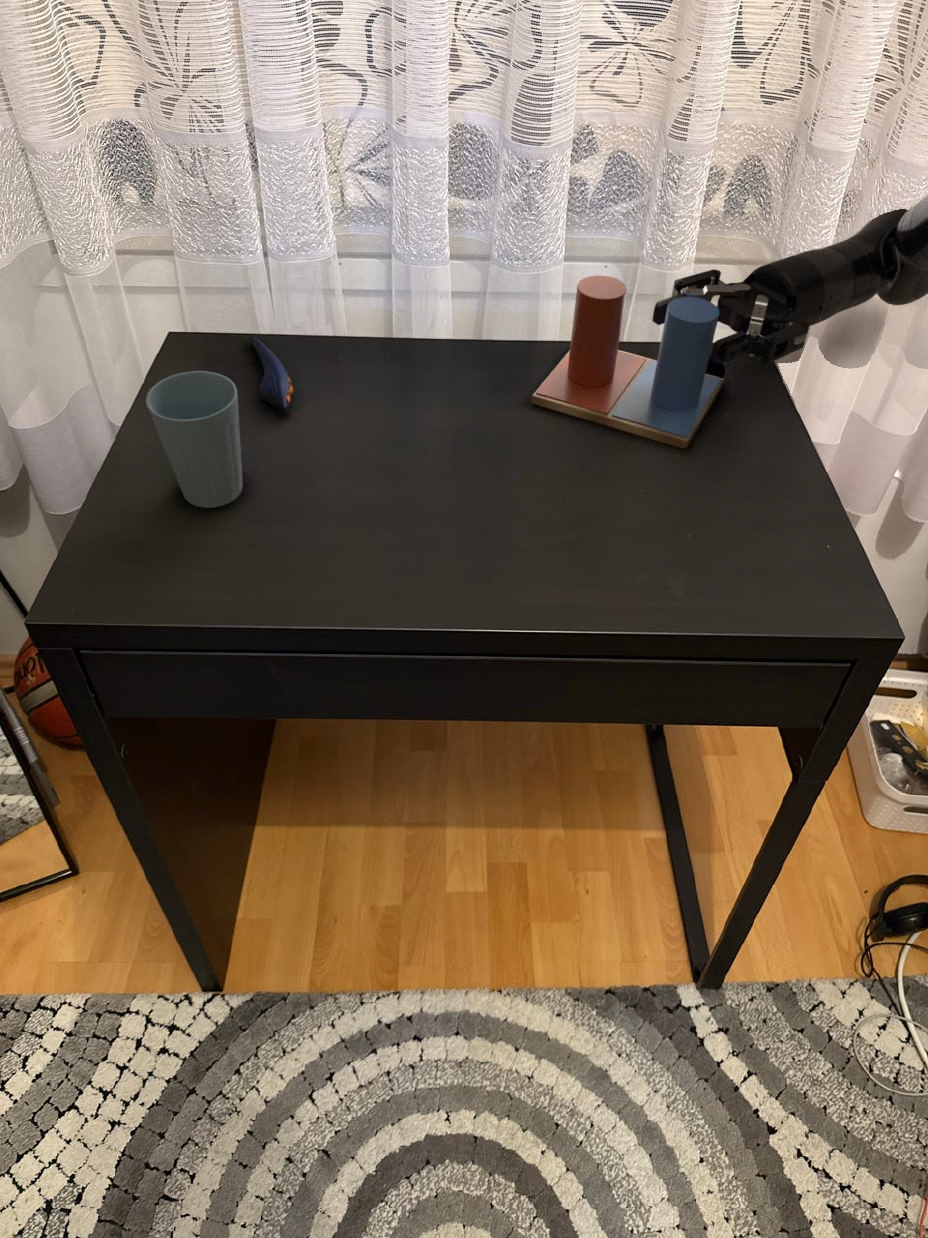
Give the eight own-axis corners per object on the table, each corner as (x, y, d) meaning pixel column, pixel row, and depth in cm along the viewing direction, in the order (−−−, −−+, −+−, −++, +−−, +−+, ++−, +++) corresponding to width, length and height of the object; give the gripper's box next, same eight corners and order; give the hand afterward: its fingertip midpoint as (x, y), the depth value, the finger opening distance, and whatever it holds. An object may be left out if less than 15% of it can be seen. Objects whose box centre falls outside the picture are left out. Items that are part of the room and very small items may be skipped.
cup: (237, 455, 91) (218, 361, 84) (267, 499, 87) (250, 404, 79) (161, 479, 89) (134, 384, 81) (188, 526, 84) (163, 430, 76)
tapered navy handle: (244, 355, 106) (236, 336, 104) (273, 344, 106) (265, 325, 104) (272, 424, 95) (264, 404, 93) (304, 411, 95) (297, 391, 94)
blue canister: (704, 392, 98) (725, 304, 91) (690, 416, 95) (710, 327, 88) (659, 379, 100) (676, 292, 93) (644, 402, 97) (660, 314, 90)
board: (722, 386, 101) (724, 377, 101) (685, 449, 93) (687, 440, 93) (577, 346, 106) (578, 337, 106) (531, 403, 98) (532, 394, 98)
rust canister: (620, 369, 101) (634, 282, 94) (603, 391, 98) (616, 303, 91) (577, 357, 103) (588, 270, 95) (560, 379, 100) (569, 291, 92)
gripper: (758, 231, 100) (642, 268, 93) (863, 286, 92) (745, 330, 85) (741, 296, 105) (631, 335, 99) (839, 354, 97) (726, 400, 91)
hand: (684, 333), depth 92 cm, fingers open, 8 cm apart
